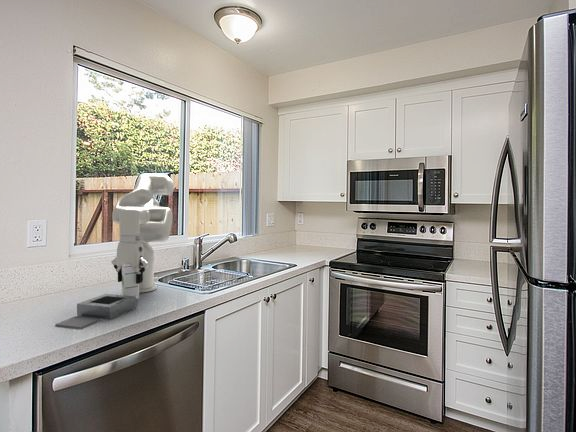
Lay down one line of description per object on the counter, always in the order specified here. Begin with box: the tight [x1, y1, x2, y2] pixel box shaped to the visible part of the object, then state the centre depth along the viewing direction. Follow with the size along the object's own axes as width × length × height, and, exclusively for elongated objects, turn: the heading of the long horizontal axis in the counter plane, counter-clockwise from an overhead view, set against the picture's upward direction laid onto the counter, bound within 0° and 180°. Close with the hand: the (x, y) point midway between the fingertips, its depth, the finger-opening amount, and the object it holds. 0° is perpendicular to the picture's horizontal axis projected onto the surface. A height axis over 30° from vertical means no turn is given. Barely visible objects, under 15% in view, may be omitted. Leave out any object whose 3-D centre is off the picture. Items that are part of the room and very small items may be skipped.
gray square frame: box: [76, 293, 137, 321], centre depth 123 cm, size 14×14×4 cm
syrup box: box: [121, 264, 140, 300], centre depth 135 cm, size 6×6×14 cm
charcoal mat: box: [54, 315, 101, 330], centre depth 112 cm, size 8×10×1 cm
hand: (130, 281), depth 135 cm, fingers closed on syrup box, 7 cm apart
